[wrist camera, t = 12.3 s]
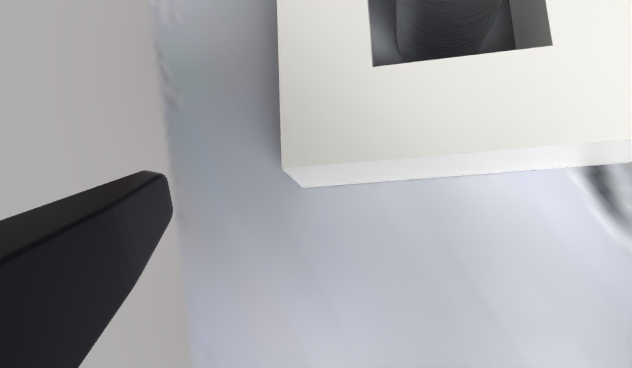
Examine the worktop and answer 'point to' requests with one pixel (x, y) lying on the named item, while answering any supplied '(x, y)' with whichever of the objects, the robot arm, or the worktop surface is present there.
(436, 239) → the worktop surface
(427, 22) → the long pin
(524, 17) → the hole block
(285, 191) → the worktop surface
